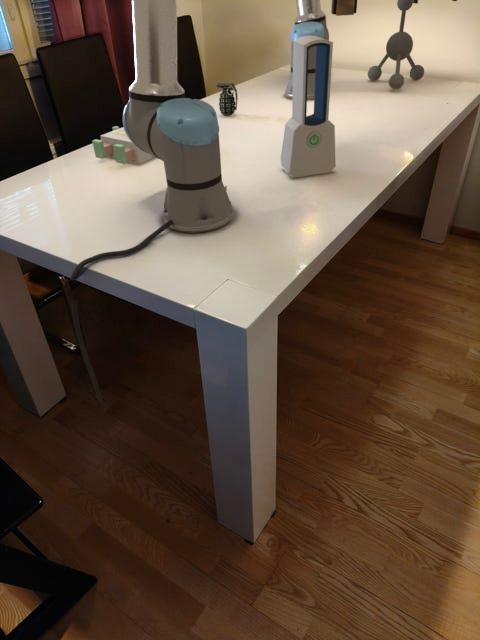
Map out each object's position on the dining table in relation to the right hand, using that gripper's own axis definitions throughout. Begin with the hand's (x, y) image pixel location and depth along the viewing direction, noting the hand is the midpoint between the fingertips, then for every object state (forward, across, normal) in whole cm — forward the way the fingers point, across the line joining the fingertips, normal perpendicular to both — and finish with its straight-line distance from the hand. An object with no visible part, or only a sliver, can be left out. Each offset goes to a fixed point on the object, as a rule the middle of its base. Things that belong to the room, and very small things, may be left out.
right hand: (434, 2), depth 170 cm
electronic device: (+28, +54, +78) cm, 99 cm away
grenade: (+28, +74, +23) cm, 82 cm away
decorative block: (+28, +100, +55) cm, 117 cm away
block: (-4, +44, +60) cm, 74 cm away
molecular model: (+28, +6, -9) cm, 30 cm away
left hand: (-5, +44, +60) cm, 74 cm away
